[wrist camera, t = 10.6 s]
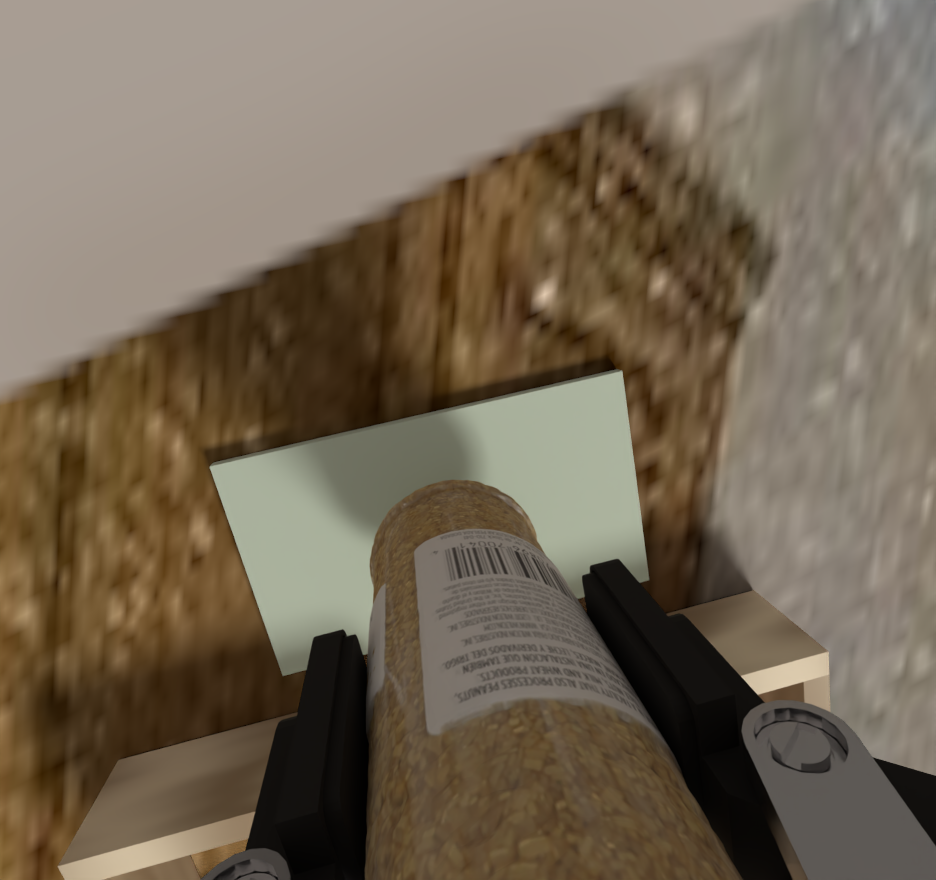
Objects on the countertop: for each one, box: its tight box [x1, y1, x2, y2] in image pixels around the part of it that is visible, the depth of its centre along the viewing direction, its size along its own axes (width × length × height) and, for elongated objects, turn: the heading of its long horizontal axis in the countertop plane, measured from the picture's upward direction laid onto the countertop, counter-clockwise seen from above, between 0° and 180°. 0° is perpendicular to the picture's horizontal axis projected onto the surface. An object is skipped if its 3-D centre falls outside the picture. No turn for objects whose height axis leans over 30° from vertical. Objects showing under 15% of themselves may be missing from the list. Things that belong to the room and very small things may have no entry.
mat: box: [210, 369, 649, 676], centre depth 17 cm, size 12×7×1 cm, turn 102°
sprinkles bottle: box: [364, 480, 743, 880], centre depth 9 cm, size 5×5×14 cm
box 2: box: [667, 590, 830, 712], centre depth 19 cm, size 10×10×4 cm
